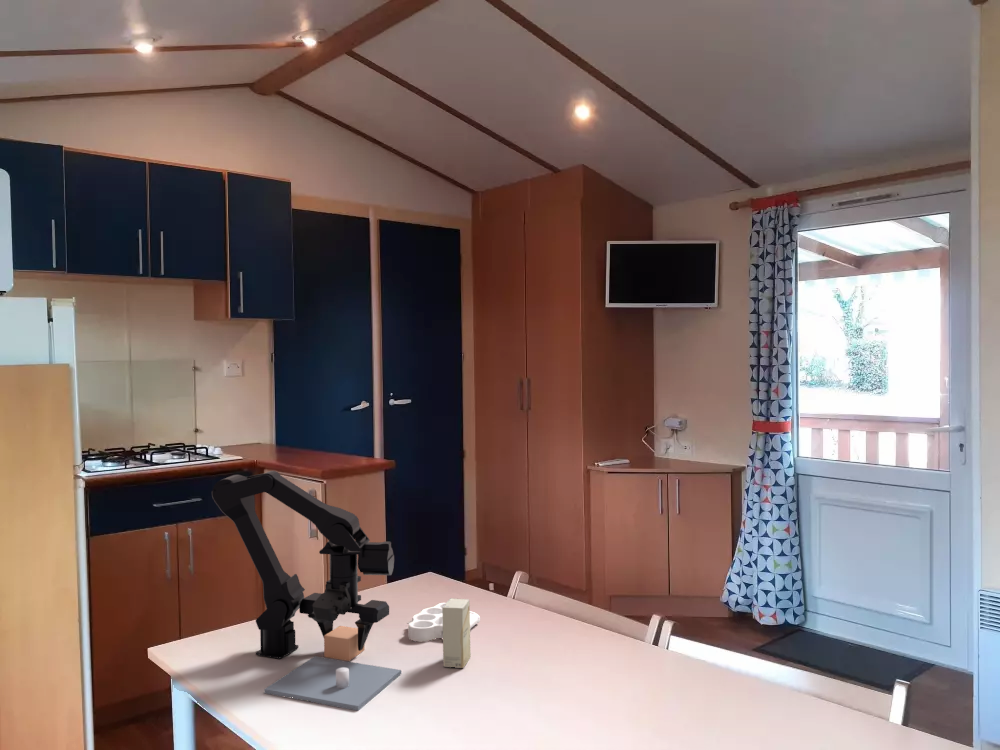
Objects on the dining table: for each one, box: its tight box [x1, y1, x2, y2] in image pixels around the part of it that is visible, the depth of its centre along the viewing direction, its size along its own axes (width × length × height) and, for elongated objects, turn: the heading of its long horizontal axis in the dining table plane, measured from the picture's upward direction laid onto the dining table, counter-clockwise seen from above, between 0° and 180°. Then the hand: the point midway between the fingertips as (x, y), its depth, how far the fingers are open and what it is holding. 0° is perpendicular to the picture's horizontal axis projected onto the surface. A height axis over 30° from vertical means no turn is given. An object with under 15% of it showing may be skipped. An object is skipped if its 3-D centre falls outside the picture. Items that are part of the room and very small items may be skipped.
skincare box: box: [442, 598, 472, 669], centre depth 152 cm, size 6×4×12 cm
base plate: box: [264, 655, 402, 711], centre depth 142 cm, size 20×16×4 cm
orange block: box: [323, 625, 366, 662], centre depth 156 cm, size 6×6×4 cm
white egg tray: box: [406, 602, 481, 642], centre depth 171 cm, size 3×18×15 cm
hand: (344, 647), depth 156 cm, fingers open, 7 cm apart
